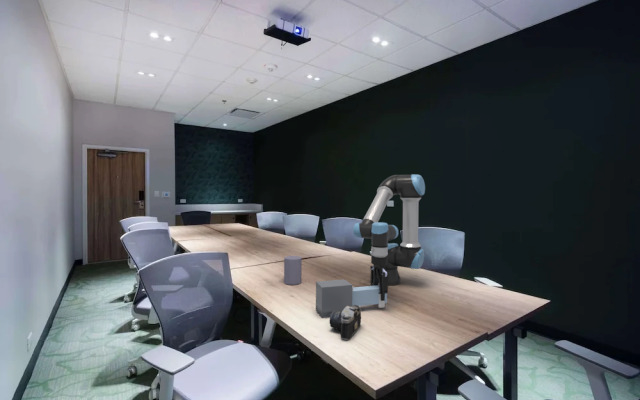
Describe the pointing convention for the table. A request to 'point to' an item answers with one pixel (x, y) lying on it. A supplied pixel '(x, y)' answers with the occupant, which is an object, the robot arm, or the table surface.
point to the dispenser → (332, 296)
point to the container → (292, 270)
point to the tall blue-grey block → (366, 295)
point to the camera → (346, 321)
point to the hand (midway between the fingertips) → (378, 304)
